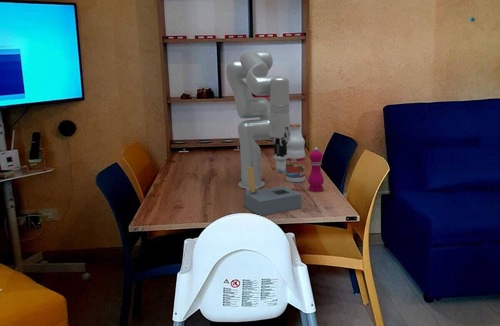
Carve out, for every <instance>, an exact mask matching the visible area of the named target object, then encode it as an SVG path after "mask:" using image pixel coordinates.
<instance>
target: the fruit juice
mask: <svg viewBox="0 0 500 326" xmlns="http://www.w3.org/2000/svg"><path fill="white" fill-rule="evenodd" d="M290 129H291V133H290V141H288V143H287V155H289V158H288V159H286V173H285V179H286V181H287V182H289V183H302V182H304V181H305V180H306V152H305V151H306V150H305V145H306V142H305V141H306V140H305V138H304V137H303V134H302V131H301V124H300V123H290Z"/></svg>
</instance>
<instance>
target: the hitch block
mask: <svg viewBox="0 0 500 326" xmlns="http://www.w3.org/2000/svg"><path fill="white" fill-rule="evenodd" d="M245 190H246V192H244V193H243V203H244V205H243V207H244V208H246V209H247V210H249V211H251V212H252V213H254V214H256V215H257V214H258V215H257V216H259V215H261V216H260V217H264V216H269V215H275V214H279V213H280V214H281V213H284V212H288V211H294V210H299V209H302V194H301V193H299V192H298V191H295V190H292V188H289V187H286V186H285V185H283V186H276V187H270V188H263V189H260V188H257V187H255V190H256V192H255V193H250V189H245Z"/></svg>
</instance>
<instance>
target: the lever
mask: <svg viewBox="0 0 500 326" xmlns="http://www.w3.org/2000/svg"><path fill="white" fill-rule="evenodd" d="M247 172H248V182H249V189H250V193H255V192H256V190H255V181H254V171H253V167H247Z"/></svg>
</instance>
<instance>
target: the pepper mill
mask: <svg viewBox="0 0 500 326" xmlns="http://www.w3.org/2000/svg"><path fill="white" fill-rule="evenodd" d="M308 157H309V159H310V162H309V163H310V166H311V170H310V173H309V174H308V175H309V176H308V179H307V183H308V184H309V185H308V191H310V192H315V193H319V192H322V191H323V189H324V186H323V185H324V181H325V180H324V176H323V174H322V171H321V165H322V160H323V157H324V156H323V152H321V151H320V150H319V148H318V147H314V148H313V150H312V151H311V152H309V156H308Z"/></svg>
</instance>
